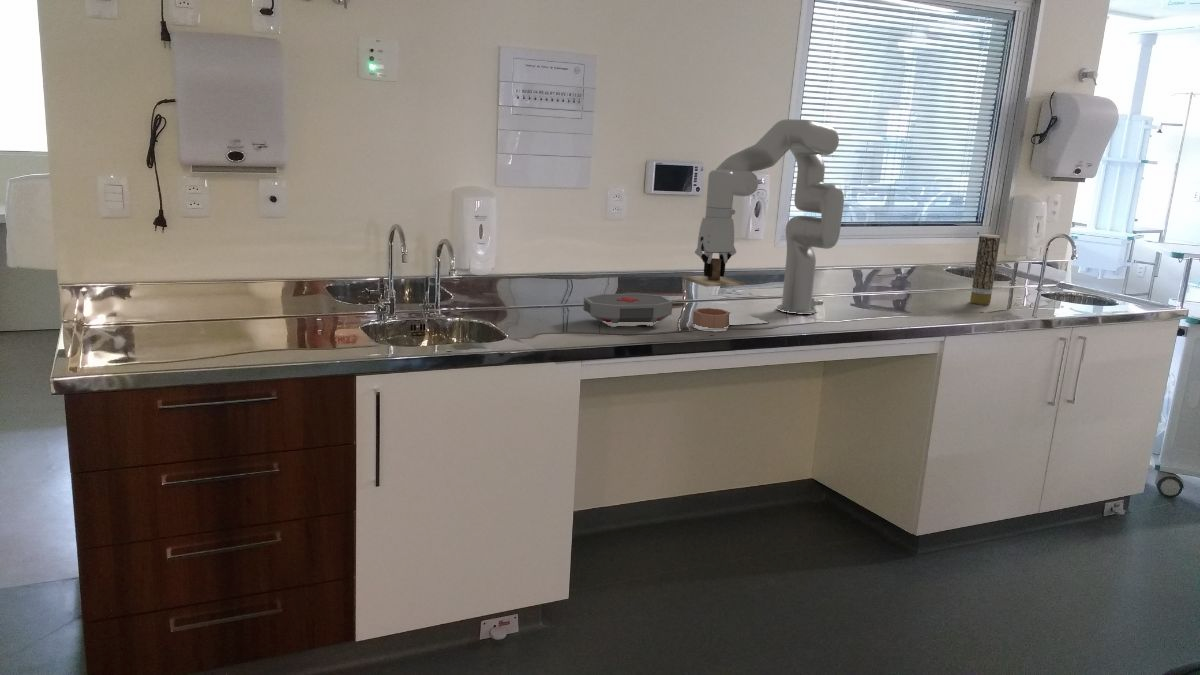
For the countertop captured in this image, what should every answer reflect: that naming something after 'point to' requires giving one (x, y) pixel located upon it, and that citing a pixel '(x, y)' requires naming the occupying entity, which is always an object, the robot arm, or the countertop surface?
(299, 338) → the countertop surface
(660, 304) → the first aid kit
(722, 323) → the bowl
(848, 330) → the countertop surface
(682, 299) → the countertop surface
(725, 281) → the cover
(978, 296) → the bark textured cylinder
